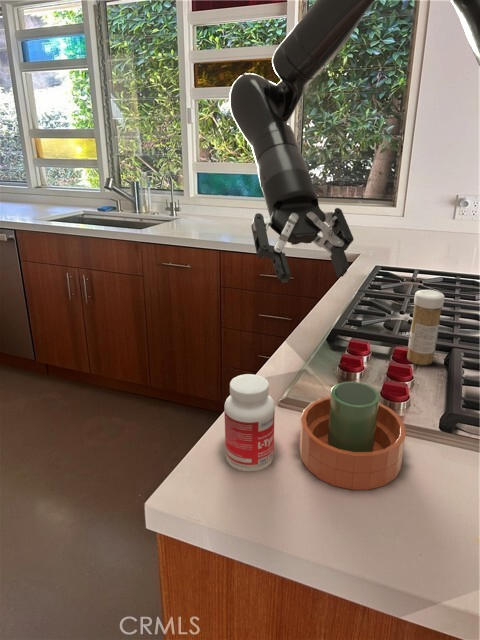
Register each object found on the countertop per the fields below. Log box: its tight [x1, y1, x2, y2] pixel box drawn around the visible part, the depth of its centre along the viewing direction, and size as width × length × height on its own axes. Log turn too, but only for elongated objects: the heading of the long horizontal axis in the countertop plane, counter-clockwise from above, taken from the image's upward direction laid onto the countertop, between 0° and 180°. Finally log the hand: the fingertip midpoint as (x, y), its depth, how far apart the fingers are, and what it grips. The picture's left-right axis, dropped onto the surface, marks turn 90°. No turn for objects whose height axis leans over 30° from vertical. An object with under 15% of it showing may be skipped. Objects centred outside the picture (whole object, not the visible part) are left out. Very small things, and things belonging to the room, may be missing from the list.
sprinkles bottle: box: [406, 289, 445, 366], centre depth 79 cm, size 5×5×14 cm
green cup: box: [327, 381, 381, 452], centre depth 57 cm, size 6×6×9 cm
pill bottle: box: [223, 373, 276, 472], centre depth 57 cm, size 6×6×11 cm
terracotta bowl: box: [299, 396, 406, 491], centre depth 58 cm, size 12×12×6 cm
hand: (315, 277), depth 65 cm, fingers open, 8 cm apart
